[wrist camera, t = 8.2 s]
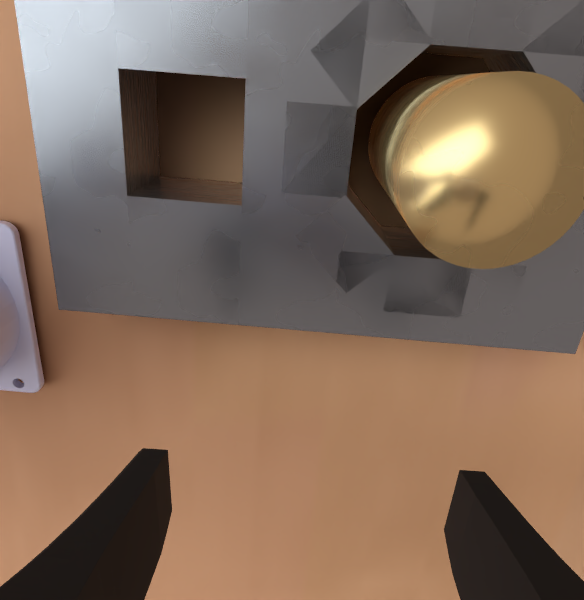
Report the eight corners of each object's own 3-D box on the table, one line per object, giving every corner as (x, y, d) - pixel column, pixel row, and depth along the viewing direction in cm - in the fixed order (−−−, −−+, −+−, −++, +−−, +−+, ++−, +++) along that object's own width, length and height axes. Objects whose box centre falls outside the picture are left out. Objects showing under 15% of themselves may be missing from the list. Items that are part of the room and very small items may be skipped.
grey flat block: (99, 273, 20) (58, 309, 17) (63, -85, 15) (-5, -131, 12) (533, 310, 20) (575, 353, 16) (643, -40, 15) (734, -75, 12)
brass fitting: (363, 202, 18) (390, 266, 12) (373, 74, 16) (411, 68, 10) (480, 205, 18) (570, 272, 12) (504, 77, 16) (626, 72, 10)
